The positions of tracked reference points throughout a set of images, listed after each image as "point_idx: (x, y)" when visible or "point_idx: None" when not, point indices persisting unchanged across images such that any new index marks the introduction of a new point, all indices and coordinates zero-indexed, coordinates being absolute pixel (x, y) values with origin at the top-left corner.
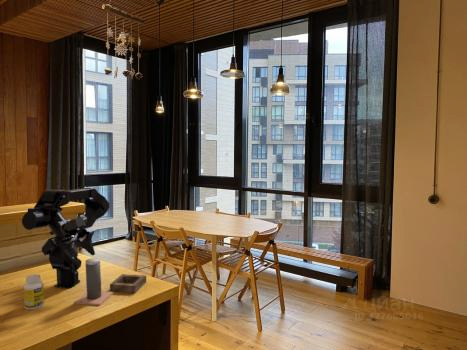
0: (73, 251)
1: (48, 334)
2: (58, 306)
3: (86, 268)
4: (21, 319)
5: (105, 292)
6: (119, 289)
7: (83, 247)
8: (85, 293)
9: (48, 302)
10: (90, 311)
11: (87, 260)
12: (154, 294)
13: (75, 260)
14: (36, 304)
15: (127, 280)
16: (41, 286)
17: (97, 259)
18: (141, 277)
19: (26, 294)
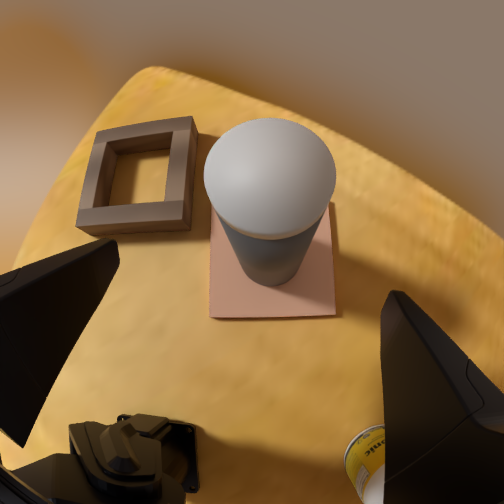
0: (68, 484)
1: (501, 255)
2: (367, 362)
3: (319, 222)
4: None
5: (222, 229)
6: (190, 185)
7: (46, 389)
8: (246, 315)
9: (340, 427)
10: (373, 210)
11: (287, 211)
12: (204, 82)
13: (114, 445)
14: None
15: (104, 202)
16: None
17: (242, 141)
18: (111, 137)
19: None
